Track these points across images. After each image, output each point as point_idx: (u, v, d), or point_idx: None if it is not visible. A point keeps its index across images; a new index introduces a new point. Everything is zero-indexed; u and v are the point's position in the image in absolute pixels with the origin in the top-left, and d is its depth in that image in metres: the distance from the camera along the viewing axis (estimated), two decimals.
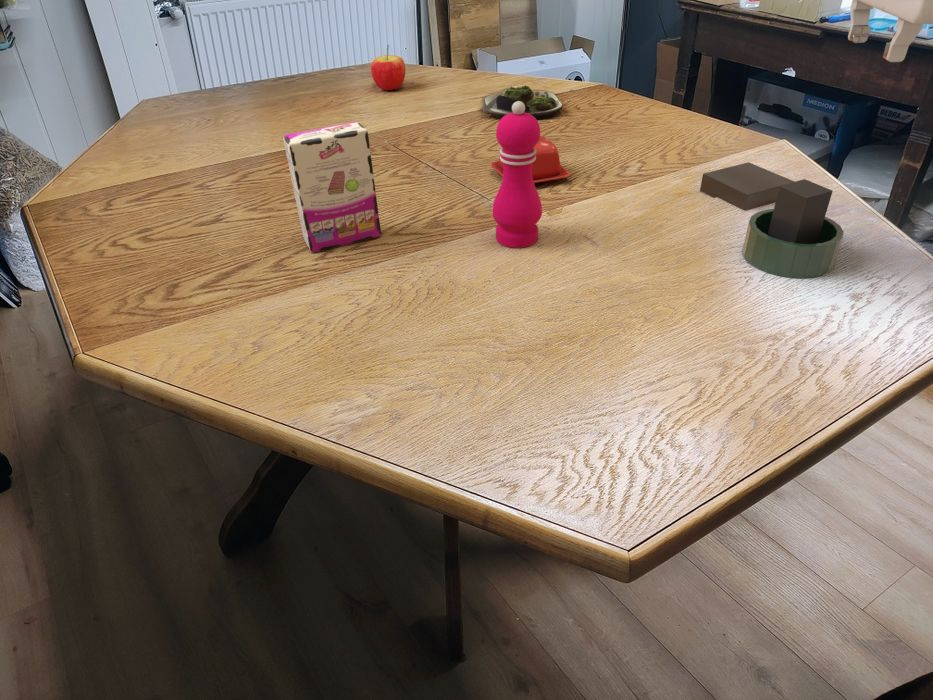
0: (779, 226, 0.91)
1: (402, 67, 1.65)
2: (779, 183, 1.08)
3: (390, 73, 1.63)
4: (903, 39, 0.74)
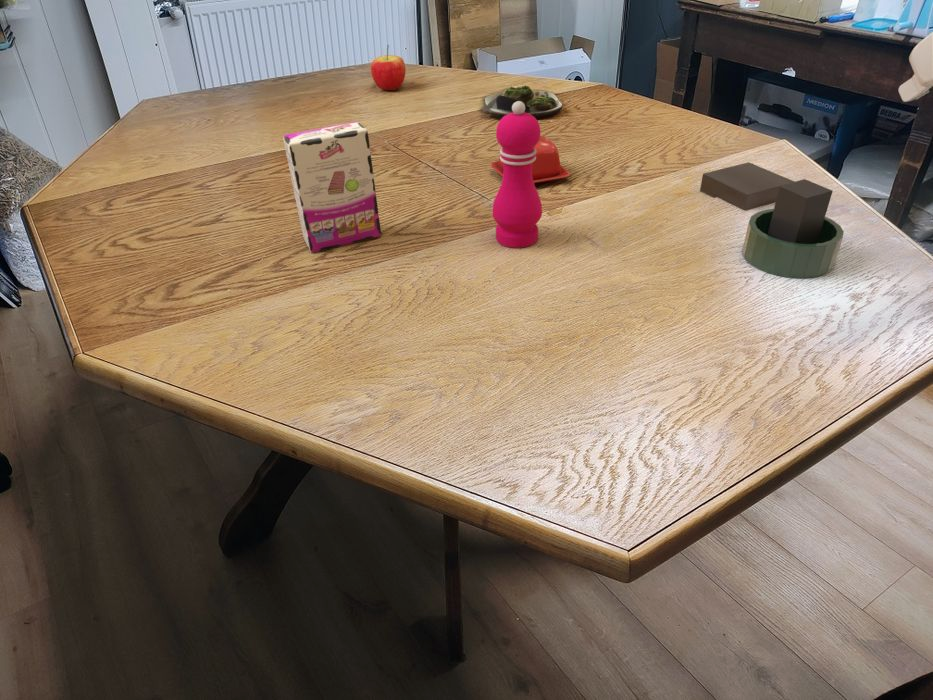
0: (779, 226, 0.91)
1: (402, 67, 1.65)
2: (779, 183, 1.08)
3: (390, 73, 1.63)
4: None
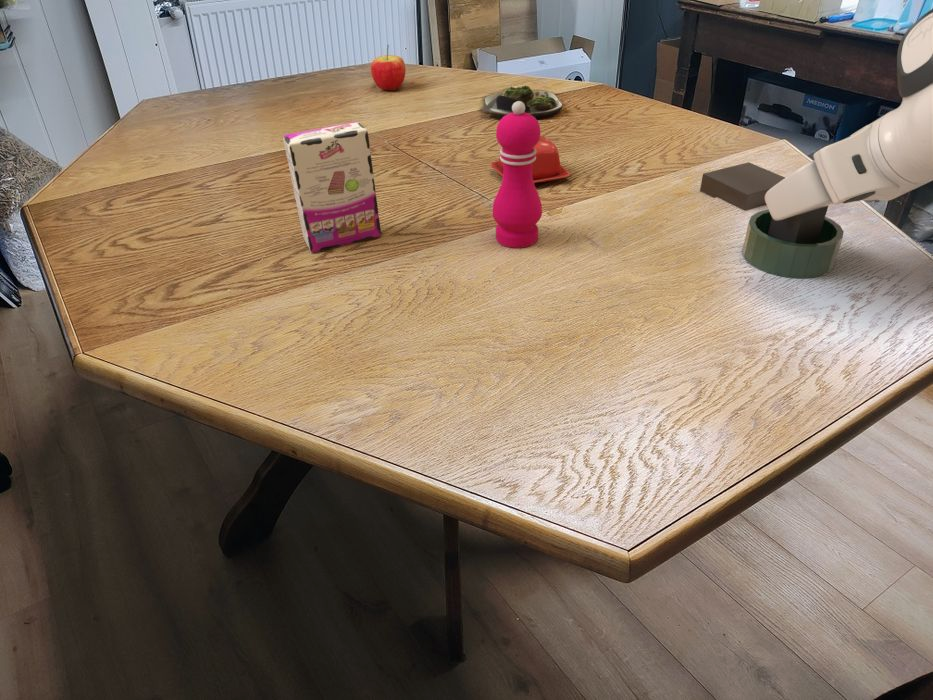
0: (779, 226, 0.91)
1: (402, 67, 1.65)
2: None
3: (390, 73, 1.63)
4: None
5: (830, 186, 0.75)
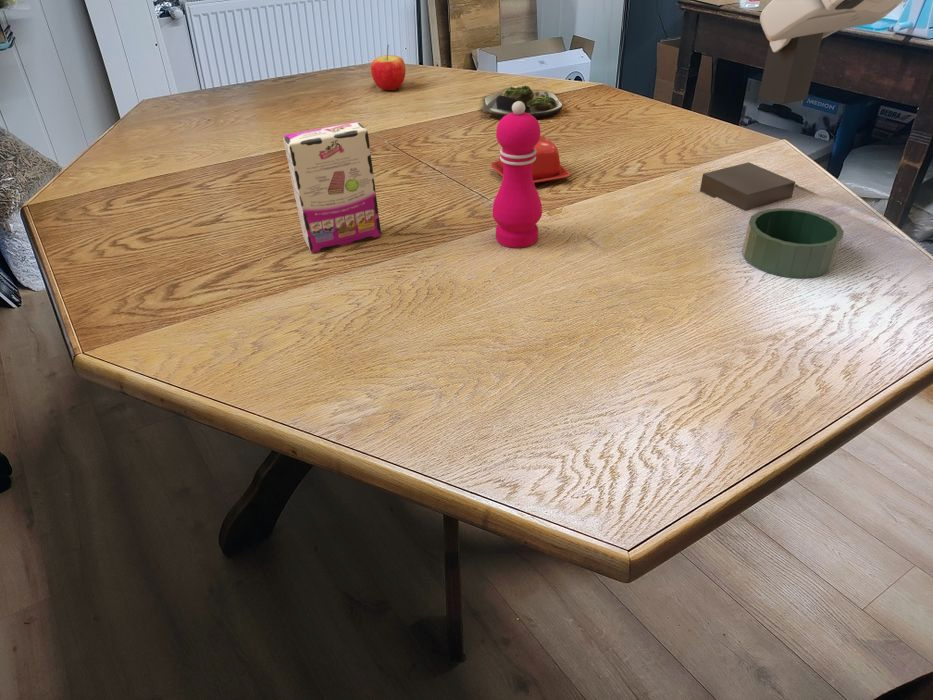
0: (774, 62, 0.93)
1: (402, 67, 1.65)
2: (779, 183, 1.08)
3: (390, 73, 1.63)
4: None
5: None
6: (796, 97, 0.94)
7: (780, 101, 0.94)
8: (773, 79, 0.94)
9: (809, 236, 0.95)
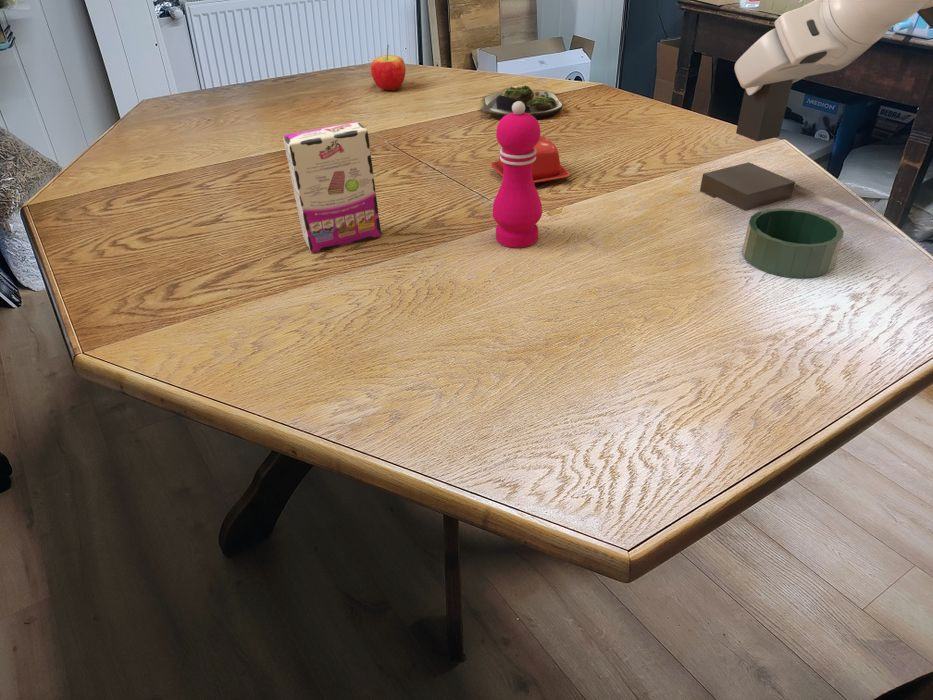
0: (749, 104, 1.03)
1: (402, 67, 1.65)
2: (779, 183, 1.08)
3: (390, 73, 1.63)
4: None
5: (788, 47, 0.87)
6: (769, 135, 1.04)
7: (755, 138, 1.04)
8: (749, 119, 1.04)
9: (809, 236, 0.95)
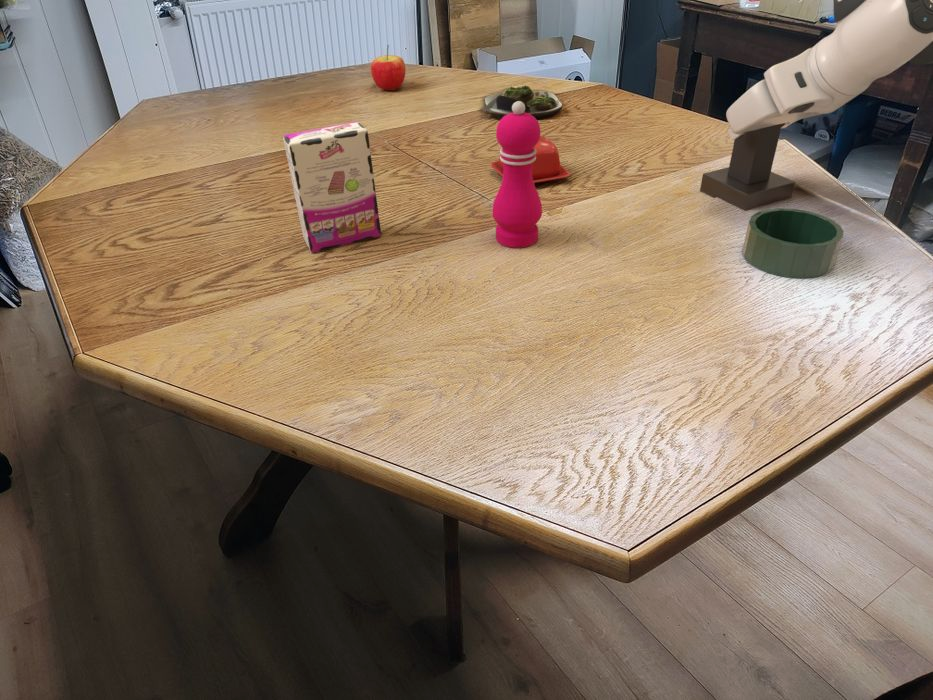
0: (740, 148, 1.07)
1: (402, 67, 1.65)
2: (779, 183, 1.08)
3: (390, 73, 1.63)
4: None
5: (777, 98, 0.91)
6: (759, 178, 1.08)
7: (745, 182, 1.08)
8: (740, 163, 1.08)
9: (809, 236, 0.95)
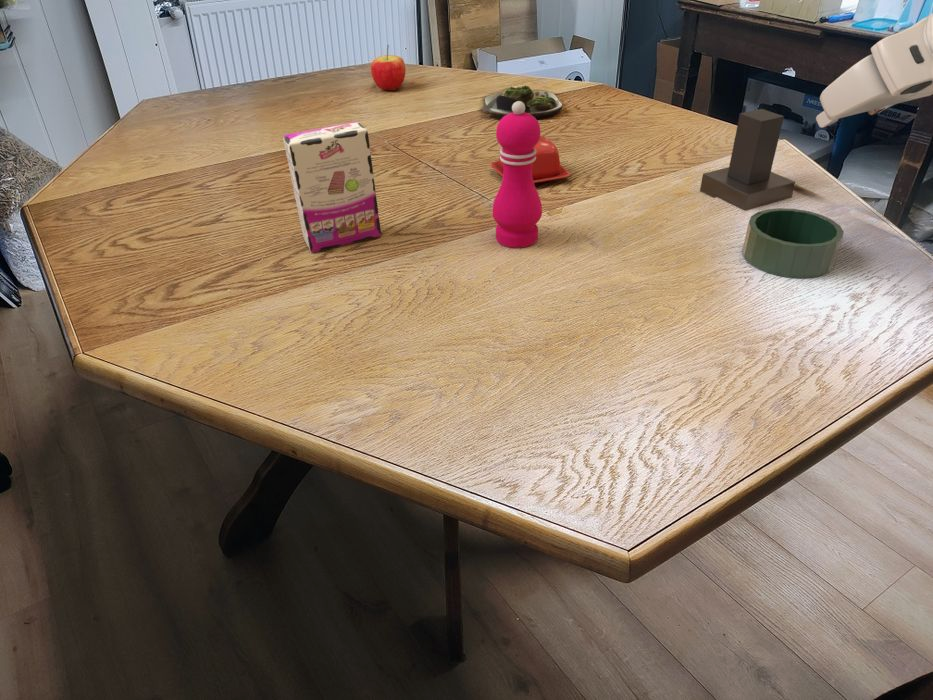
0: (740, 148, 1.07)
1: (402, 67, 1.65)
2: (779, 183, 1.08)
3: (390, 73, 1.63)
4: None
5: (888, 77, 0.77)
6: (759, 178, 1.08)
7: (745, 182, 1.08)
8: (740, 163, 1.08)
9: (809, 236, 0.95)
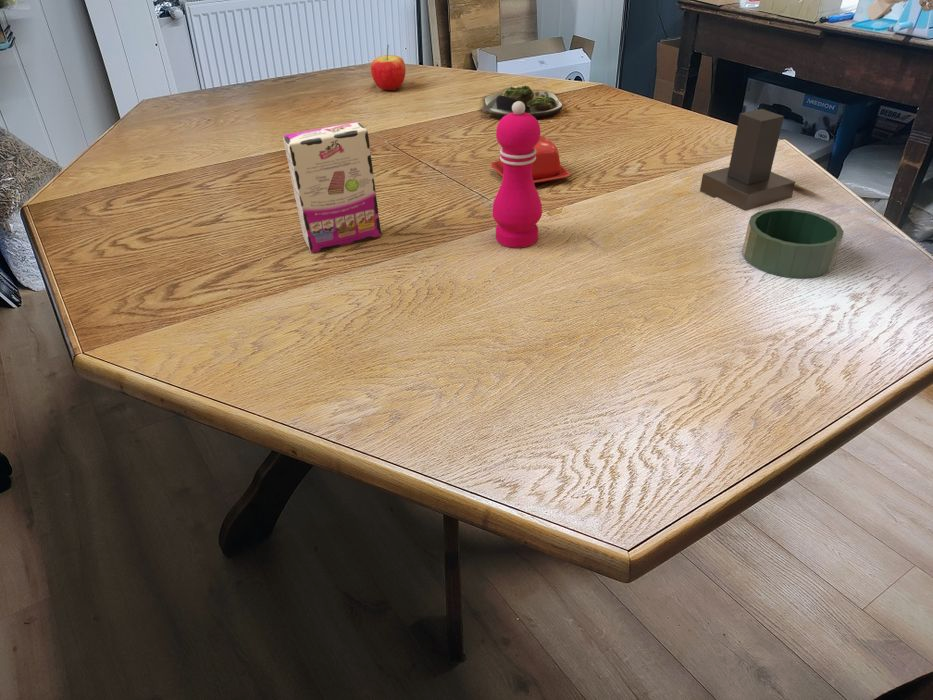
0: (740, 148, 1.07)
1: (402, 67, 1.65)
2: (779, 183, 1.08)
3: (390, 73, 1.63)
4: None
5: None
6: (759, 178, 1.08)
7: (745, 182, 1.08)
8: (740, 163, 1.08)
9: (809, 236, 0.95)
